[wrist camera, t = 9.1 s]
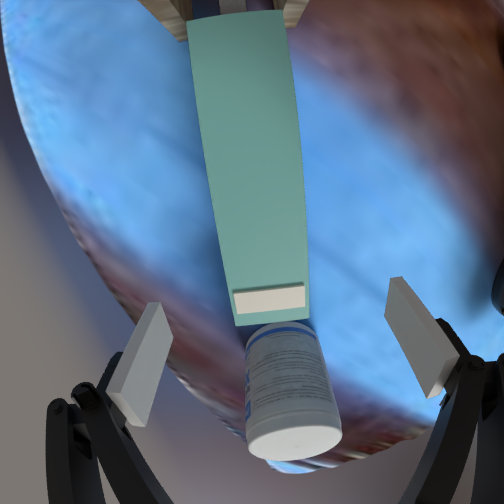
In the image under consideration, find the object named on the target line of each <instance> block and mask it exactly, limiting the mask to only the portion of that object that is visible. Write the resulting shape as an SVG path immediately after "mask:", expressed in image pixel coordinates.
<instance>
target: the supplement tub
mask: <svg viewBox="0 0 504 504" xmlns="http://www.w3.org/2000/svg"><path fill="white" fill-rule="evenodd" d="M245 396H246V438H247V440H248V449H249V451H250V452H251V453H252V454H253V455H255V456H257V457H260V458H263V459H267V460H275V461H288V460H298V459H304V458H308V457H312V456H315V455H318V454H321V453H323V452H325V451H327V450H329V449H331V448H332V447H334V446H335V445H336V444H337V443H338V442H339V441H340V440H341V438H342V430H341V421H340V416H339V412H338V408H337V404H336V401H335V397H334V393H333V389H332V385H331V382H330V378H329V374H328V371H327V367H326V364H325V360H324V356H323V353H322V349H321V346H320V342H319V339H318V337H317V335H316V334H315V332H314V331H313V330H311V329H310V328H309V327H307V326H305V325H303V324H301V323H297V322H292V321H283V322H275V323H271V324H268V325H266V326H264V327H262V328H260V329H259V330H257V331H256V332H255V333H254V334H253V335H252V336H251V337H250V338H249V340H248V342H247V345H246V350H245Z"/></svg>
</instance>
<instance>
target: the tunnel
mask: <svg viewBox="0 0 504 504" xmlns="http://www.w3.org/2000/svg"><path fill="white" fill-rule="evenodd" d="M138 1H139V2H140V3H141V4H142V5H143V6H144V7H145V8H146V9H147V10H148V11H149V12H150V13H151V14H152V15H153V16H154V17H155V18H156V19H157V20H158V21H159V22H160V23H161V24H162V25H163V26H164V27H165V28H166V29H167V30H168V31H169V32H170V33H171V34H172V35H173V36H174V37H175V38H176V39H177V40H178V41H179V42H181V41H186V40H188V34H187V25H186V21H191V20H194V18H193V9H192V0H138ZM308 2H309V0H273V4H274V10H282V11H283V17H284V22H285V28H295V27H296V25H297V23H298V21H299V19H300V17H301V15H302V13H303V11H304V9H305V7H306V6H307V4H308Z"/></svg>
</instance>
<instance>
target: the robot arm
mask: <svg viewBox="0 0 504 504" xmlns="http://www.w3.org/2000/svg"><path fill="white" fill-rule="evenodd" d="M492 303H493V306H494V307H495V308H496V310H497V311H498V312H499V313H500V314H501V315H503V316H504V261H503V263H502V265H501V267H500V269H499V271H498V274H497V276H496V279H495V282H494V286H493V291H492ZM384 317H385V318H386V320H387V322H388V324H389V326H390V327H391V329H392V331H393V333H394V335H395V337H396V339H397V340H398V342H399V344H400V346H401V348H402V350H403V352H404V354H405V356H406V358H407V359H408V361H409V363H410V365H411V367H412V369H413V371H414V373H415V375H416V378H417V380H418V382H419V384H420V386H421V388H422V390H423V392H424V394H425V396H426V399H429V398H431V397H434V396H437V395H440V393H441V391H442V389H443V387H444V388H445V390H446V392H447V393H446V394H445V396H444V398H443V399H442V401H441V403H440V404H439V405H440V406H441V405H442V406H441V409H440V412H439V415H438V418H437V421H436V423H435V426H434V429H433V432H432V434H431V437H430V439H429V442H428V445H427V447H426V449H425V452H424V454H423V456H422V458H421V460H420V462H419V465H418V467H417V469H416V471H415V473H414V475H413V477H412V479H411V481H410V483H409V485H408V487H407V489H406V490H405V492H404V494H403V496H402V497H401V499H400V501H399V503H398V504H450V502H451V499H452V497H453V495H454V492H455V490H456V488H457V485H458V482H459V480H460V477H461V475H462V472H463V469H464V466H465V463H466V460H467V457H468V454H469V451H470V447H471V444H472V440H473V437H474V433H475V429H476V424H477V421H478V435H477V436H478V437H477V457H476V468H475V477H474V485H473V491H472V497H471V503H470V504H504V353H502V354H501V355H500V356H499V358H498V359H497V361H490V362H485V361H484V360H483V359H482V358H481V357H479V356H477V355H471V354H470V353H469V351H468V350H467V348H466V347H465V345H464V344H463V343H462V341H461V340H460V338H459V337H458V336H457V334H456V333H455V331H453V329H452V327H451V326H450V325H449V323H447V322H446V321H445V320H443V319H442V318H439V319H434V318H433V316H432V315H431V314H430V312H429V311H428V309H427V308H426V307H425V306H424V304H423V303H422V302H421V300H420V299H419V298H418V296H417V295H416V294H415V292H414V291H413V290H412V289H411V287H410V286H409V285H408V284H407V282H406V281H405V280H404V279H403V277H402V276H401V277H394V278H390V284H389V291H388V297H387V303H386V309H385V314H384ZM172 340H173V336H172V333H171V330H170V328H169V325H168V322H167V320H166V317H165V314H164V311H163V308H162V305H161V303H160V302H151V303H148V305H147V307H146V308H145V310H144V312H143V314H142V316H141V318H140V320H139V322H138V324H137V326H136V328H135V330H134V332H133V334H132V336H131V338H130V340H129V342H128V344H127V346H126V348H125V350H124V352H117V353H116V354H115V355H114V356H113V357H112V358H111V359H110V361H109V363H108V366H107V367H106V369H105V373H103V375H102V377H101V380H100V382H99V384H98V386H97V388H95V387H94V386H93V384H91V383H89V382H83V383H80V384H78V385H77V386H75V388H74V389H73V390H72V393H71V398H72V400H73V401H74V402H75V403H76V404H68V403H67V402H66V401H65V400H64V399H62V398H57V399H55V400H53V401H52V402H51V403H50V404H49V405H48V408H47V420H46V477H47V490H48V499H49V504H106V502H105V498H104V493H103V489H102V484H101V479H100V473H99V468H98V461H97V457H98V459H99V462H100V464H101V466H102V468H103V470H104V473H105V475H106V477H107V479H108V481H109V483H110V485H111V487H112V489H113V491H114V493H115V495H116V497H117V499H118V501H119V503H120V504H174V503H173V502H172V500H171V499H170V498H169V496H168V495H167V493H166V492H165V490H164V489H163V487H162V486H161V485H160V483H159V482H158V480H157V479H156V477H155V475H154V474H153V472H152V471H151V469H150V468H149V466H148V464H147V463H146V461H145V459H144V458H143V456H142V455H141V452H140V451H139V449H138V447H137V445H136V444H135V442H134V440H133V438H132V437H131V434H130V433H129V431H128V429H127V427H126V426H125V422H126V419H127V420H128V421H129V422H130V423H131V425H134V426H142V427H146V423H147V420H148V417H149V413H150V410H151V406H152V403H153V400H154V396H155V393H156V390H157V387H158V383H159V380H160V377H161V374H162V371H163V368H164V364H165V361H166V358H167V355H168V352H169V349H170V346H171V343H172Z"/></svg>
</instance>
